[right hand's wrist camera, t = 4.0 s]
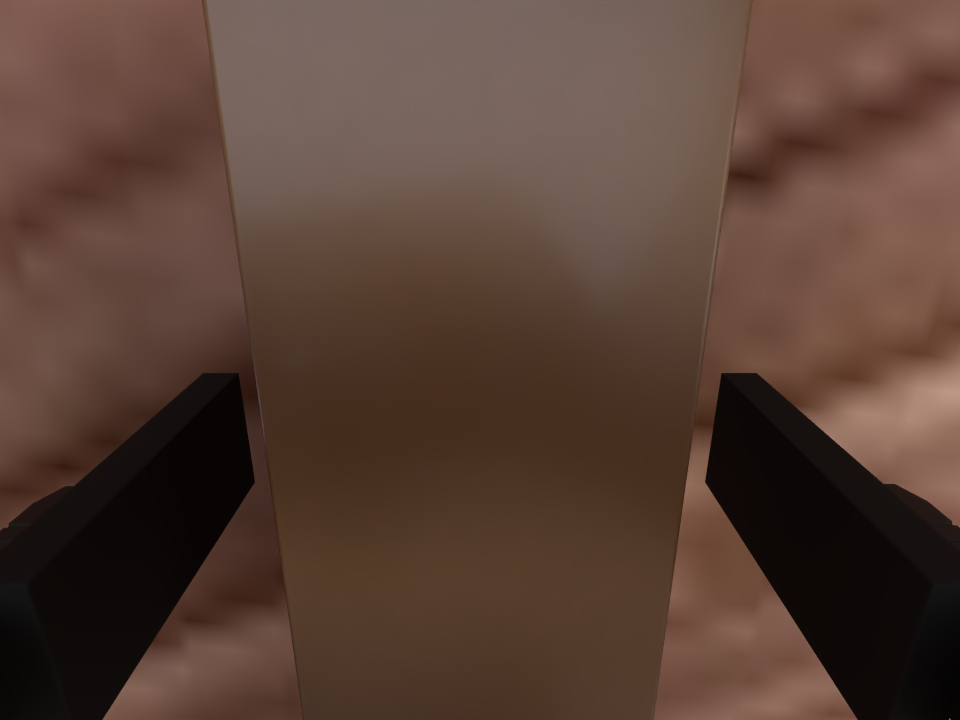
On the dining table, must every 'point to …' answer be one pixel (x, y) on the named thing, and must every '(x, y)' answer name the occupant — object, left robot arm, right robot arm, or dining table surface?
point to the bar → (477, 333)
